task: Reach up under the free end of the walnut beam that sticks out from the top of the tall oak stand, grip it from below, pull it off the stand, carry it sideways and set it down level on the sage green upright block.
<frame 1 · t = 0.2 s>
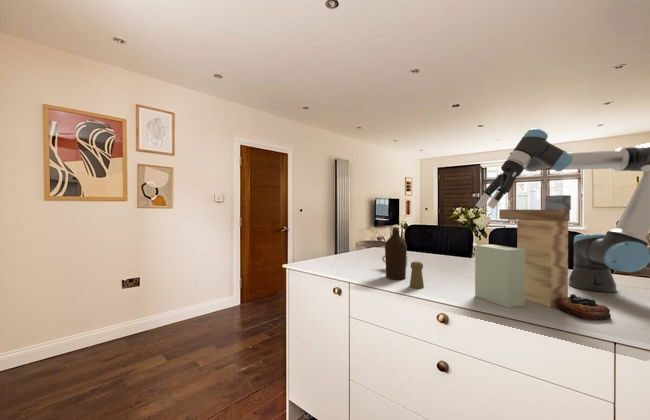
hand: (483, 207, 119), 35 cm above the counter, tool tilted 35°, fingers open, 13 cm apart
oak stand: (541, 300, 105), on the counter
beam: (531, 219, 109), point 30 cm above the counter, touching oak stand
pastry: (582, 315, 92), on the counter
sage green upright block: (498, 300, 106), on the counter
cork: (416, 287, 124), on the counter
teacup: (395, 269, 159), on the counter
olive oil: (395, 278, 140), on the counter
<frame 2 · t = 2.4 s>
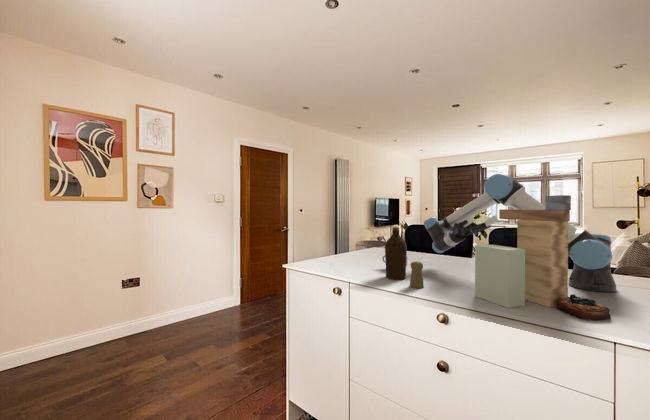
hand: (485, 217, 129), 30 cm above the counter, tool pointing upward, fingers open, 13 cm apart
nothing on the counter moved.
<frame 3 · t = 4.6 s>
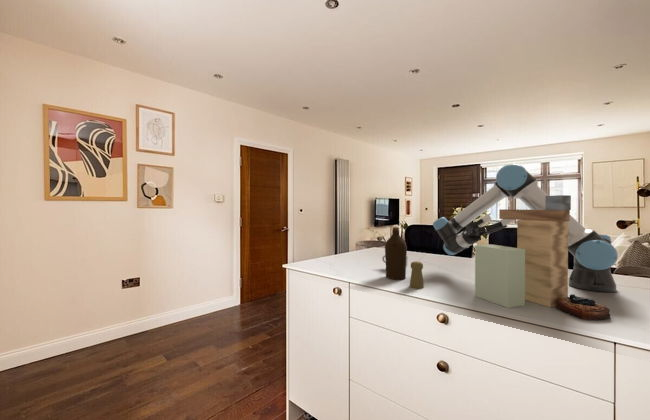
hand: (502, 216, 120), 31 cm above the counter, tool pointing upward, fingers open, 13 cm apart
nothing on the counter moved.
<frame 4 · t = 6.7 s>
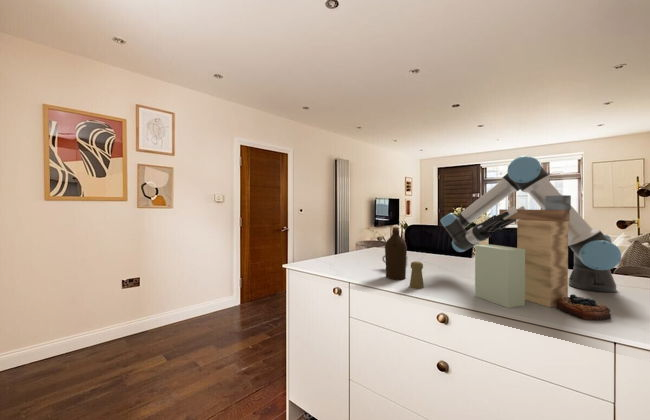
hand: (520, 209, 113), 34 cm above the counter, tool pointing upward, fingers closed on beam, 4 cm apart
beam: (531, 219, 109), point 30 cm above the counter, touching gripper, oak stand
everything else where it was.
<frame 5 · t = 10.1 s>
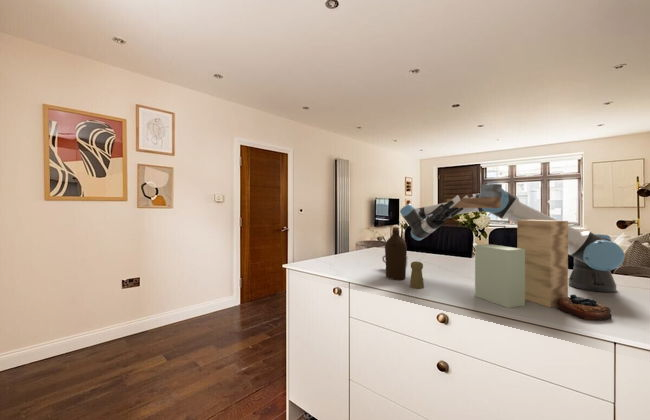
hand: (463, 198, 122), 39 cm above the counter, tool pointing upward, fingers closed on beam, 4 cm apart
beam: (471, 207, 118), point 35 cm above the counter, touching gripper
everything else where it was.
when the fingers open (26 cm above the counter, at t = 13.7 s): beam drops 2 cm, resting on sage green upright block.
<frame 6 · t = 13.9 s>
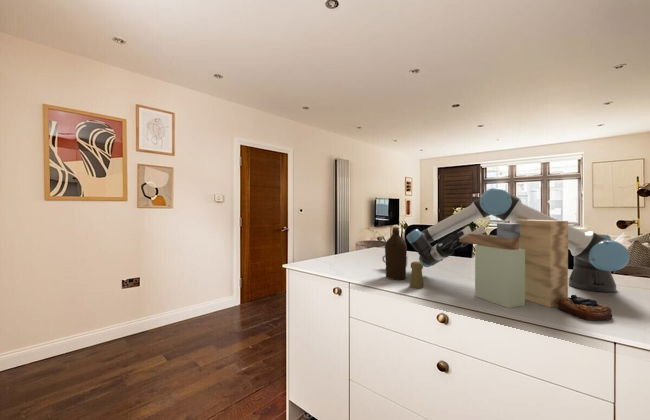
hand: (476, 229, 115), 26 cm above the counter, tool pointing upward, fingers open, 7 cm apart
beam: (486, 245, 111), point 20 cm above the counter, touching sage green upright block
everything else where it was.
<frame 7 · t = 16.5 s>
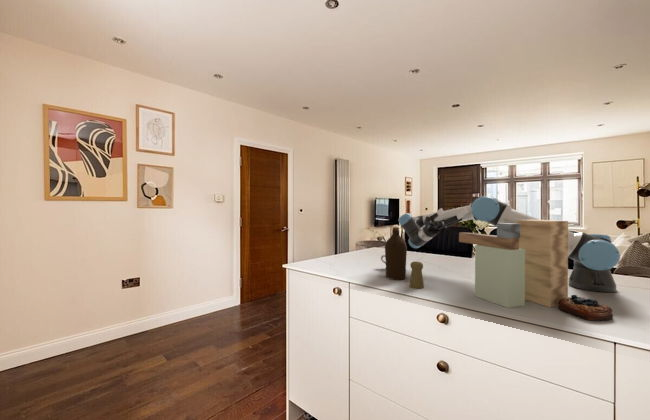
hand: (454, 210, 130), 34 cm above the counter, tool pointing upward, fingers open, 13 cm apart
teacup: (393, 269, 161), on the counter
everything else where it was.
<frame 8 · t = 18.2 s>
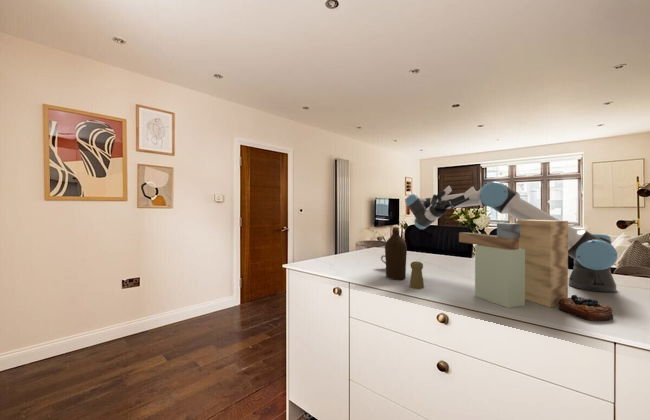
hand: (462, 188, 130), 44 cm above the counter, tool pointing upward, fingers open, 13 cm apart
nothing on the counter moved.
at the end: beam inside the target area on the sage green upright block (0.6 cm from its centre), point 20.0 cm above the sage green upright block's base; beam tilted 0°; the gripper is holding nothing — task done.
